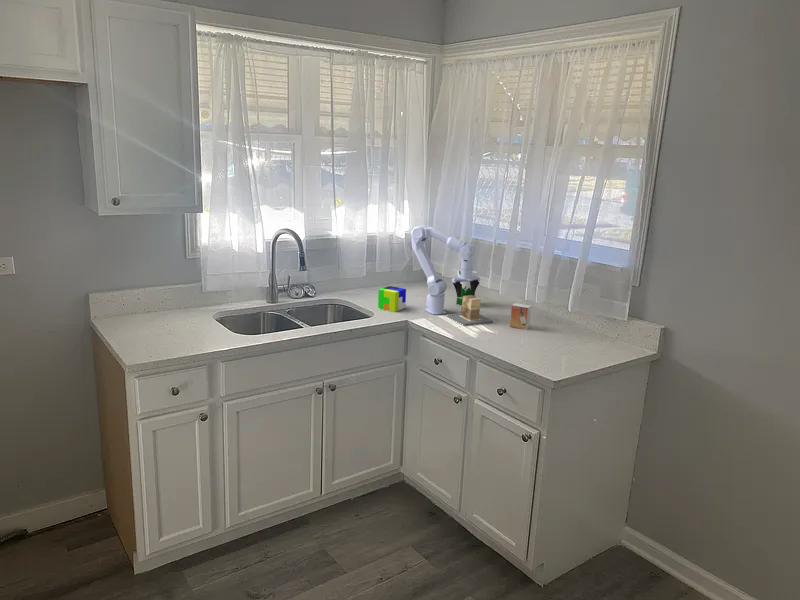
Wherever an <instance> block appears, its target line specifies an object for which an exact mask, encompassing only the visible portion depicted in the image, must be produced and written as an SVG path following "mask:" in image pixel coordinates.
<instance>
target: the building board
mask: <svg viewBox="0 0 800 600" xmlns="http://www.w3.org/2000/svg"><path fill="white" fill-rule="evenodd" d="M446 317H447V318H448V317H449V319H450V318H451V319H450V320H452V319H453V321H454V320H455V321H454V322H456V321H457V322H456V323H458V322H459V323H458V324H460V323H461V324H460V325H462V324H463V325H462V326H464V325H467V326H473V325H472V324H476V325H484V323H485V324H493V323H494V320H492V319H491V318H488V317H486V316H484V315H483V314H480V313H479V319H477V320H469V319H467V318H465V317H463V316H461V313H454V314H453V313H451V314H446Z"/></svg>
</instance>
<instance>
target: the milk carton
mask: <svg viewBox="0 0 800 600" xmlns="http://www.w3.org/2000/svg"><path fill="white" fill-rule="evenodd" d="M478 274H479V272H478V271H475V270H473V276H478ZM457 277H461V269H460V270H457ZM460 283H461V284H462V288H461V296H460V297H457V296H456V303H455V304H456V305H458V304H459V305H458V306H460V305H462V299H463V296H467V295H471V294H470V291H471V286H470V281H468V282H460ZM474 296H475V297H476V293H475V294H474Z"/></svg>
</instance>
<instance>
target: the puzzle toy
mask: <svg viewBox="0 0 800 600" xmlns="http://www.w3.org/2000/svg"><path fill="white" fill-rule="evenodd" d="M377 295H378V297H377V299H378V300H377V309H378V308H380V309H379V310H382V309H385V310H384V311H387V310H389V311H388V312H392V311H393V312H392V313H396V312H398V310H399V311H402V310H404V309H406V302H407V301H406V300H407V299H406V297H407V288H403V287H397V286H393V285H392V286H391V285H389V286H385V287H382V288H378V293H377ZM403 308H404V309H403Z"/></svg>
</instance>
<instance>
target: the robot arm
mask: <svg viewBox="0 0 800 600" xmlns="http://www.w3.org/2000/svg"><path fill="white" fill-rule="evenodd" d="M410 236H411V247H412V250H413V252H414V254H415V256H416V258H417V260H418V263H419V265H420V266H421V269H422V270H423V272H424V275H425V277H426V284H427V287H428V294H427V296H426V303H425V306H426V307H425V308H424V311H425V312H427V313H428V314H429V313H430V314H431V315H441V314H443V315H444V314H448V312H447V311H445V310H444V309H445V292H446V290H447V288H448V287H447V283H446V282H445V280H443V278H442V277H441V276H440V275H439V274H438V273H437V270H436V269H435V267H434V265H433V262H432V260H431V258H430V256H429V254H428V253H427V250H426V248H425V246H424V245H425V244H426V240H427V239H428V238H434V239H436V240H438V241H440V242H443V243H445V244H447V245H446V246H447V247H448V248H450V249H451V250H454V251H456V252H458V253H460V255H461V257H460V258H461V261H460V270H461V277H458V276H457V277H454V278H451V282H452V284H453V286H454V287H453V288H454V289H455V292H456V298H457V297H460V296H461V288H462V284H461V283H460V282H468V281H470V286H471V291H470V294H471V295H473V296H474V294H475V295H476V290H477V288H478V287H479V285H480V281H481V276H478V275H477V276H473V271H474V253H475V252H476V245H474V244H473V243H472V242H467V241H466V240H462V239H460V238H459V236H457V235H455V236H448V235H446V234H445V233H444V232H441V231H439V230H438V229H436V228H434V227H432V226H430V225H428V224H422V225H419V226H415V227H414V228H412V231H411V232H410Z"/></svg>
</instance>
